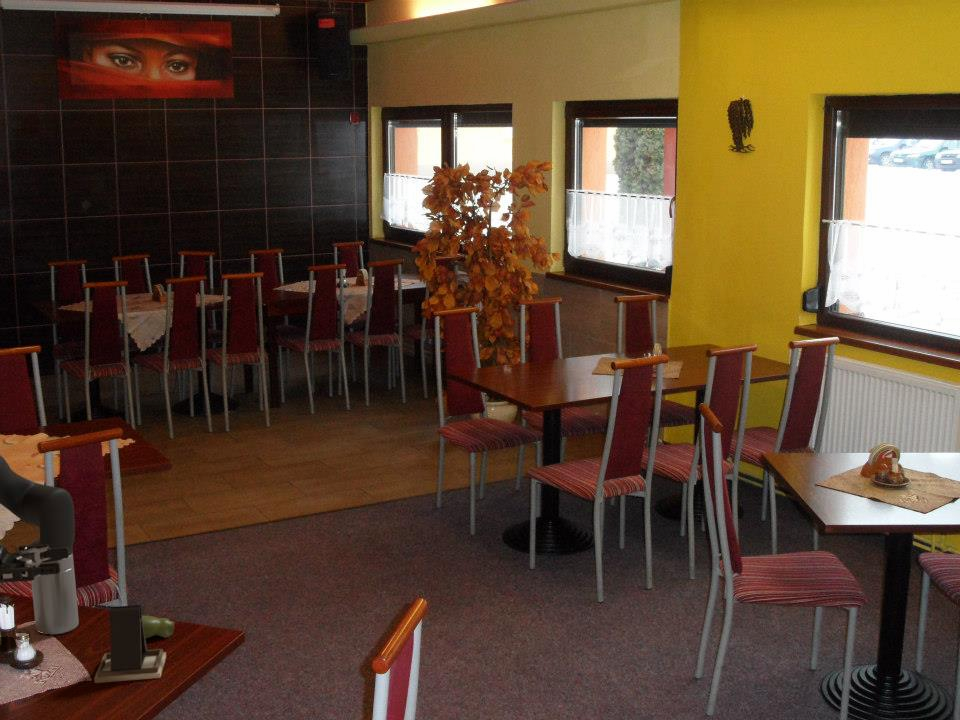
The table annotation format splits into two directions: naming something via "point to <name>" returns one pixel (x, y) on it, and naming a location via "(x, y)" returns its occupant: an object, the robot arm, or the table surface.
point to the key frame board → (148, 671)
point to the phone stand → (127, 638)
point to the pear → (157, 626)
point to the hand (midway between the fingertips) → (64, 559)
